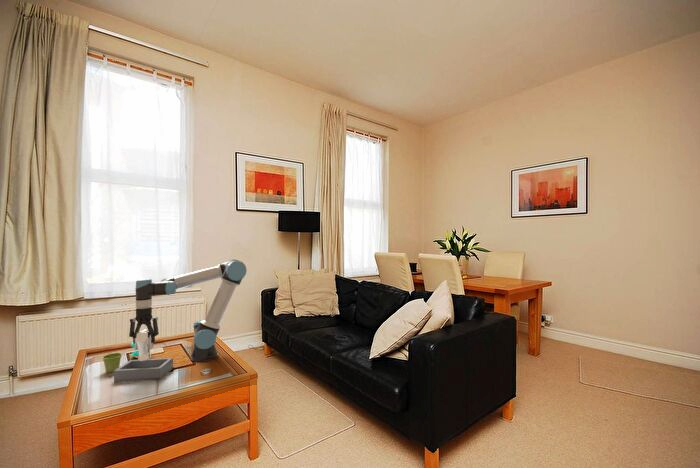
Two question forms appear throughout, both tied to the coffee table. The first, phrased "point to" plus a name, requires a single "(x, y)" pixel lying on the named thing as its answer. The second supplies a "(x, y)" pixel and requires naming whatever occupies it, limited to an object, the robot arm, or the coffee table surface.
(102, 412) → the coffee table surface
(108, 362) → the plant pot
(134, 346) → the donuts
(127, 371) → the open box
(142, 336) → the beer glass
